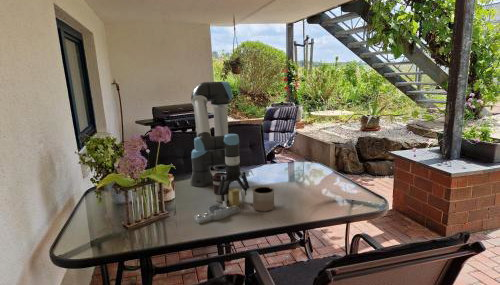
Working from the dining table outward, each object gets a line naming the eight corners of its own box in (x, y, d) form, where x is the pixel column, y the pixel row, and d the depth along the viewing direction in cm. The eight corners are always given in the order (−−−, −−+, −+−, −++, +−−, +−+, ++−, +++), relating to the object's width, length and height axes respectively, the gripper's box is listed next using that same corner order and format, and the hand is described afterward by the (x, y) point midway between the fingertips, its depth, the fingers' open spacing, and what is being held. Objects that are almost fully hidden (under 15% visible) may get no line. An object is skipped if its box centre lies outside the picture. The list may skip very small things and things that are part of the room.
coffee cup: (233, 197, 179) (232, 171, 176) (226, 204, 169) (225, 177, 167) (217, 196, 182) (216, 170, 179) (210, 202, 173) (208, 175, 170)
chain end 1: (193, 218, 152) (192, 210, 151) (214, 213, 158) (213, 204, 157) (200, 224, 145) (199, 215, 144) (221, 218, 151) (221, 209, 150)
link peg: (229, 204, 169) (228, 189, 168) (235, 202, 171) (235, 188, 170) (232, 206, 166) (232, 191, 164) (239, 204, 168) (238, 190, 166)
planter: (259, 213, 156) (259, 195, 154) (249, 206, 165) (249, 188, 163) (278, 209, 161) (278, 190, 159) (267, 202, 170) (267, 185, 168)
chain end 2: (214, 213, 158) (213, 204, 157) (233, 208, 163) (232, 199, 163) (221, 218, 151) (221, 209, 150) (241, 213, 157) (240, 204, 156)
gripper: (215, 169, 155) (218, 211, 159) (255, 161, 167) (256, 201, 171) (209, 166, 161) (211, 207, 165) (247, 159, 174) (249, 197, 177)
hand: (234, 204), depth 168 cm, fingers open, 11 cm apart
